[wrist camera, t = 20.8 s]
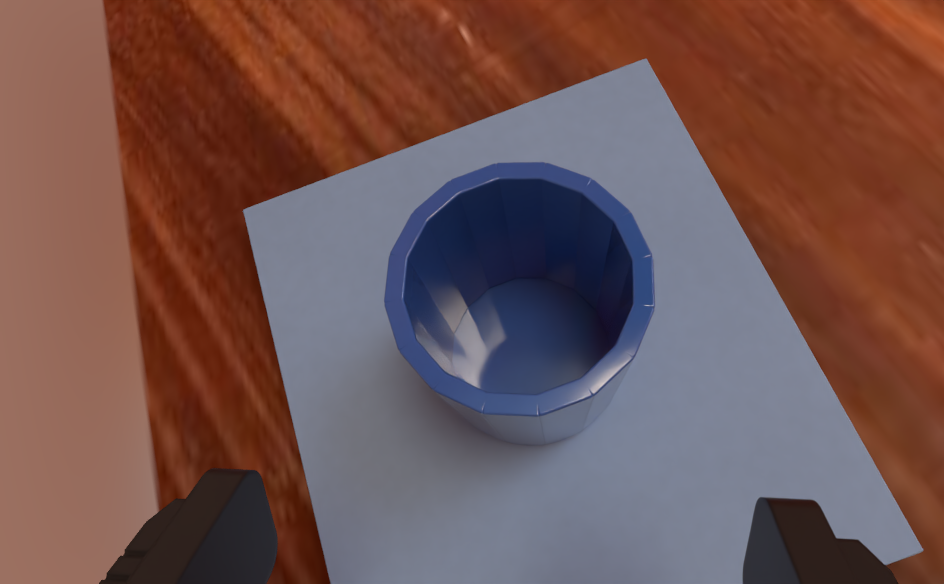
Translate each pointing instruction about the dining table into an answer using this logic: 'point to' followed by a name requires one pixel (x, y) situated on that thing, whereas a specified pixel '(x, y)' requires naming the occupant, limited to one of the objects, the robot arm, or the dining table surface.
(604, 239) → the blue cup
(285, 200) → the blue mat
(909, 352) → the dining table surface
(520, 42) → the dining table surface
